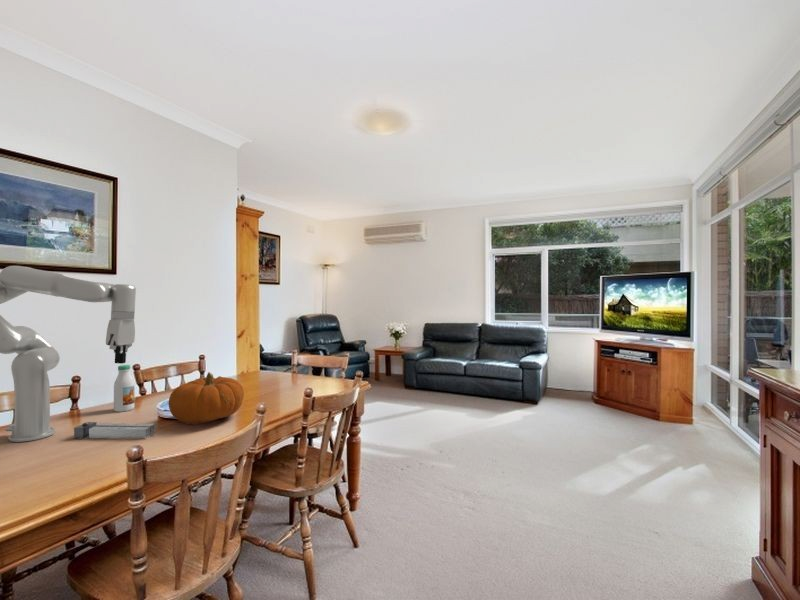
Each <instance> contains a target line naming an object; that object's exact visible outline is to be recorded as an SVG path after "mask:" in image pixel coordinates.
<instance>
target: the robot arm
mask: <svg viewBox="0 0 800 600" xmlns="http://www.w3.org/2000/svg"><path fill="white" fill-rule="evenodd" d="M136 289H137V287H136V286H135V285H132V284H123V283H122V284H119V283H118V284H117V283H116V284H112V283H108V282H96V281H89V280H84V279H79V278H73V277H70V276H66V275H64V274H62V273H58V272H53V271H48V270H43V269H37V268H33V267H29V266H22V265H9V266H6V267H5V268H3V269H1V271H0V305H1V304H4V303H6V302H9V301H10V300H13V299H15V298H17V297H19V296H21V295H24V294H26V293H29V292H31V293H34V294H35V293H36V294H42V295H46V296H53V297H57V298H58V297H59V298H65V299H71V300H75V301H83V302H86V303H106V302H107V303H109V302H111V309H110V310H111V311H110V319H109V320H108V323H107V329H106V335H105V344H106V346H109V350H113V353H114V364H120V365H124V364H126V362H127V361H126V360H127V353H128V350H129V348H130V347H132V346H133V343H134V342H135V339H136V327H135V309H136V294H137V291H136ZM14 353H15V354H17V355H16V356H15V357H14V358H13V360H12V362H11V364H10V365H11V368H10V369H11V370H10V371H11V374H12V380H13V390H14V391H13V394H14V395H13V396H14V423H11V424H8V427H6V428H5V432H11V434H10V435H9V436H8V441H9V442H12V443H13V442H14V443H22V442H31V441H35V440H41V439H44V438H47V437H50V436H52V435H53V434H55V433H56V428H55V427H51V402H50V401H51V391H50V387H51V385H50V379H49V375H48V372H49V371H52V370H53V369H55V368H56V367H58V366H57V365H58V364H59V363H60V354H59V352H58V351H57V350H56V349H55V348H54V346H52V345H51V344H50V343H49V342H48V341H47V340H46V339H44V338H43V336H41V335H40V333H38V332H37V331H36V330H34V329H32V328H30V327H28V326H23V325H12V324H11V322H9V321H8V320H6V319H5V318H4V317H3V316H2V315H1V314H0V354H2V355H9V354H10V355H11V354H14Z"/></svg>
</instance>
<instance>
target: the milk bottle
mask: <svg viewBox="0 0 800 600" xmlns="http://www.w3.org/2000/svg"><path fill="white" fill-rule="evenodd" d="M117 371H118V372H117V373H118V374H117V377H116V378H115V379H114V384H113V410H114V411H113V412H116V413H118V412H119V413H122V412H127V411H128V412H129V411H132V410H134V409H135V381H134V378H133V376H132V374H131V365H130V364H120V365H118V366H117Z"/></svg>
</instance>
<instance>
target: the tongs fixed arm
mask: <svg viewBox="0 0 800 600" xmlns="http://www.w3.org/2000/svg"><path fill="white" fill-rule="evenodd" d="M97 424H98V423H97V421H96V422H95V421H87V422H83V423H82V424H80V425H77V426H75V427H74V428H73V432H74V433H73V439H74V438H84V439H86V438H88V439H95V438H147V437H148V438H150V437H151V435H150V427H95V425H97ZM87 436H88V437H87ZM149 436H150V437H149ZM85 437H86V438H85ZM148 438H147V439H148Z"/></svg>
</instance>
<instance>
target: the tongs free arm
mask: <svg viewBox="0 0 800 600" xmlns="http://www.w3.org/2000/svg"><path fill="white" fill-rule="evenodd" d="M155 425H156V424H155V423H123V422H121V423H119V422H117V423H112V422H110V423H108V422H106V423H105V422H100V423H97V425H95V427H150V436H152V435H154V434H155V433H156V431H155V430H156V428H155Z"/></svg>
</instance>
